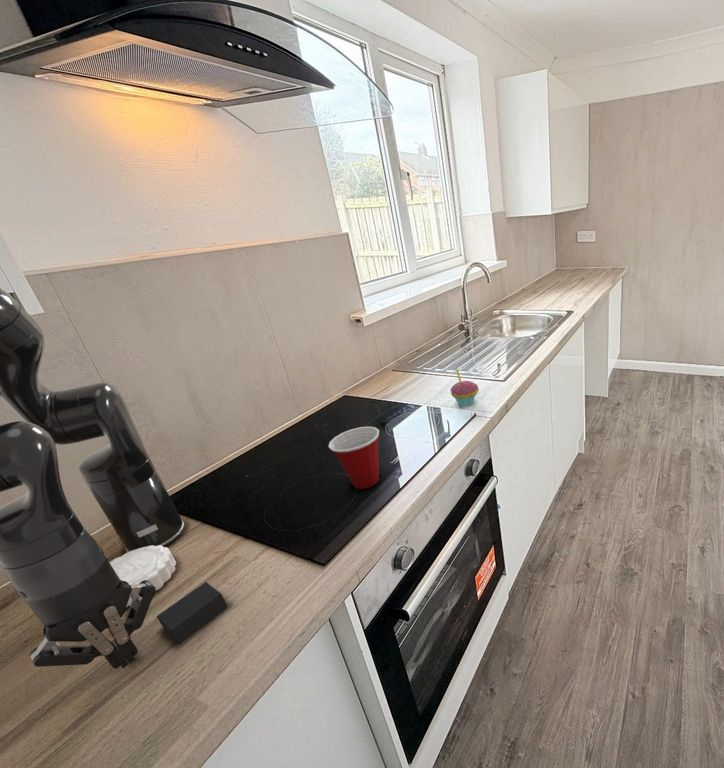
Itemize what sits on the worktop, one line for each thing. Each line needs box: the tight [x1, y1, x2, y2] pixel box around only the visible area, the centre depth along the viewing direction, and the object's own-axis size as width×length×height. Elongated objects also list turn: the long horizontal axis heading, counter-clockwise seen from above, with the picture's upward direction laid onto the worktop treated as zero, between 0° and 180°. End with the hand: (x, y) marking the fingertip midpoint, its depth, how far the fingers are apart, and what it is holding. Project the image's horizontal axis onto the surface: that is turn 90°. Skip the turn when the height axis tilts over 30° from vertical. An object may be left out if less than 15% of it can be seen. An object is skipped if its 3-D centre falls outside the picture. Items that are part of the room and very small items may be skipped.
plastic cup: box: [328, 426, 380, 490], centre depth 93 cm, size 11×11×12 cm
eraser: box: [156, 581, 228, 644], centre depth 65 cm, size 5×7×3 cm
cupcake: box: [450, 366, 480, 407], centre depth 126 cm, size 9×8×12 cm
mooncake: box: [109, 545, 177, 608], centre depth 72 cm, size 12×12×4 cm
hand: (126, 661), depth 58 cm, fingers closed
